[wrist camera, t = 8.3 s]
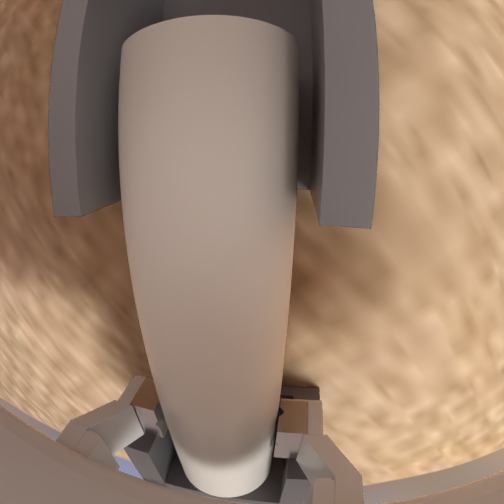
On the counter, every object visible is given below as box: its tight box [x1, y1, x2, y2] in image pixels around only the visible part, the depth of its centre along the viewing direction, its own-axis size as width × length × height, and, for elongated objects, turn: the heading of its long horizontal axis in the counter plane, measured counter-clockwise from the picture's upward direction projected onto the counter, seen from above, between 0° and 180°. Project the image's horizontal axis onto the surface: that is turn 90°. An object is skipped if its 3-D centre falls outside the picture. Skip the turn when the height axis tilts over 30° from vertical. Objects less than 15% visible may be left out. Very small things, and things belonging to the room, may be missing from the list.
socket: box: [124, 386, 320, 504], centre depth 11 cm, size 4×8×5 cm, turn 89°
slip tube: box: [118, 15, 299, 498], centre depth 8 cm, size 15×4×4 cm, turn 179°
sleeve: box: [48, 0, 379, 229], centre depth 6 cm, size 10×7×5 cm, turn 179°
